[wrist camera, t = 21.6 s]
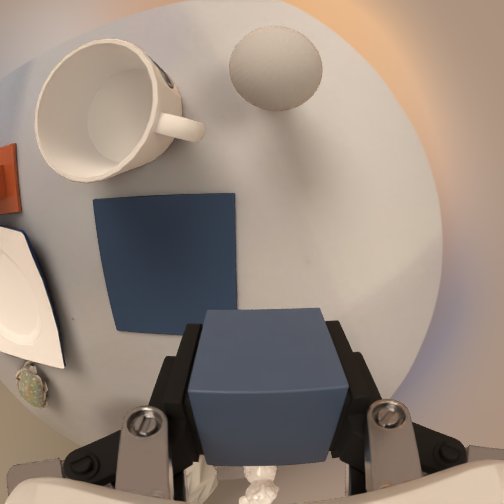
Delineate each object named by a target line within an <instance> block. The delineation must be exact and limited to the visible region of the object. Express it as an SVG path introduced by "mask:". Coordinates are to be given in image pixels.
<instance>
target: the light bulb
mask: <svg viewBox="0 0 504 504" xmlns="http://www.w3.org/2000/svg"><path fill="white" fill-rule="evenodd" d="M229 69H230V76H231V80H232V83H233V85H234V87H235V88H236V90H237V92H238V93H239V94H240V95H241V96H242V97H243V98H244V99H245V100H246V101H248V102H249V103H251V104H252V105H254V106H257V107H259V108H262V109H266V110H272V111H283V110H289V109H292V108H295V107H297V106H299V105H301V104H303V103H304V102H306V101H307V100H308V99H309V98H311V97H312V96H313V94H314V93H315V92H316V90H317V88H318V86H319V84H320V81H321V78H322V62H321V58H320V55H319V53H318V51H317V49H316V48H315V46H314V45H313V43H312V42H311V41H310V40H309V39H308V38H306V37H305V36H304V35H302V34H301V33H299V32H297V31H295V30H293V29H289V28H286V27H279V26H271V27H264V28H260V29H257V30H255V31H253V32H251V33H249V34H248V35H246V36H245V37H244V38H243V39H241V40H240V42H239V43H238V44H237V45H236V47H235V49H234V50H233V52H232V55H231V58H230V65H229Z"/></svg>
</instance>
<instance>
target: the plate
mask: <svg viewBox="0 0 504 504" xmlns="http://www.w3.org/2000/svg"><path fill="white" fill-rule="evenodd" d="M0 351H2V352H4V353H7V354H10V355H13V356H16V357H20V358H23V359H26V360H30V361H33V362H37V363H41V364H45V365H49V366H53V367H57V368H61V369H64V367H65V366H66V364H65V360H64V354H63V349H62V343H61V337H60V331H59V326H58V323H57V319H56V315H55V312H54V308H53V304H52V301H51V298H50V295H49V292H48V289H47V285H46V282H45V279H44V276H43V274H42V271H41V269H40V267H39V264H38V262H37V259H36V257H35V254H34V252H33V249H32V246H31V244H30V241H29V238H28V236H27V235H26V233H25V232H24V231H22V230H18V229H14V228H10V227H6V226H2V225H0Z"/></svg>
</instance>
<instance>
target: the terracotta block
mask: <svg viewBox="0 0 504 504" xmlns="http://www.w3.org/2000/svg"><path fill="white" fill-rule="evenodd" d="M5 198H6V191H5V181H4V169H3V165H0V200H2V199H5Z"/></svg>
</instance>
